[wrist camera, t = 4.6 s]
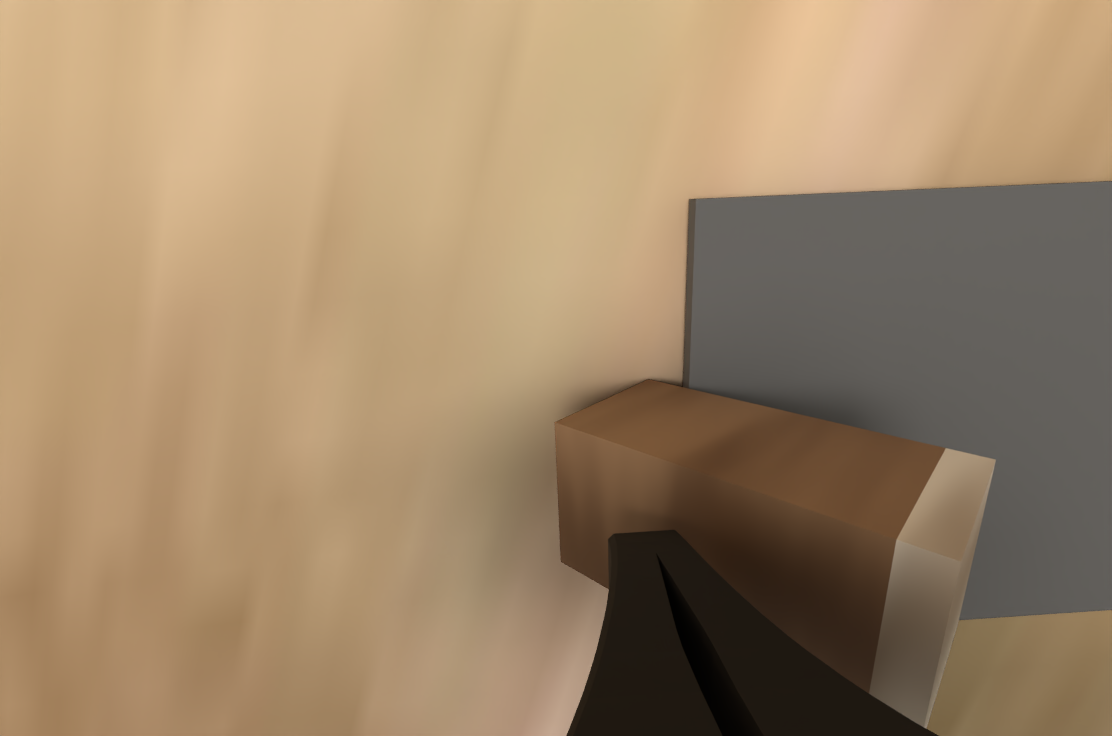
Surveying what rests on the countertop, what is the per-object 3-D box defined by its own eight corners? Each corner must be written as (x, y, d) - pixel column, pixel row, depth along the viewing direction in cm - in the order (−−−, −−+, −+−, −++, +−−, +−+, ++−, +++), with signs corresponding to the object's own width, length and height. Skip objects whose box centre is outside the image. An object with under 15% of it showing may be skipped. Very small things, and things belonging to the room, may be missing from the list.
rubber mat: (1124, 595, 19) (1142, 607, 18) (674, 625, 18) (679, 638, 18) (1268, 174, 15) (1298, 173, 14) (689, 199, 14) (695, 198, 14)
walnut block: (647, 498, 17) (957, 626, 12) (560, 561, 14) (915, 765, 9) (648, 379, 16) (995, 459, 10) (554, 422, 13) (961, 561, 8)
